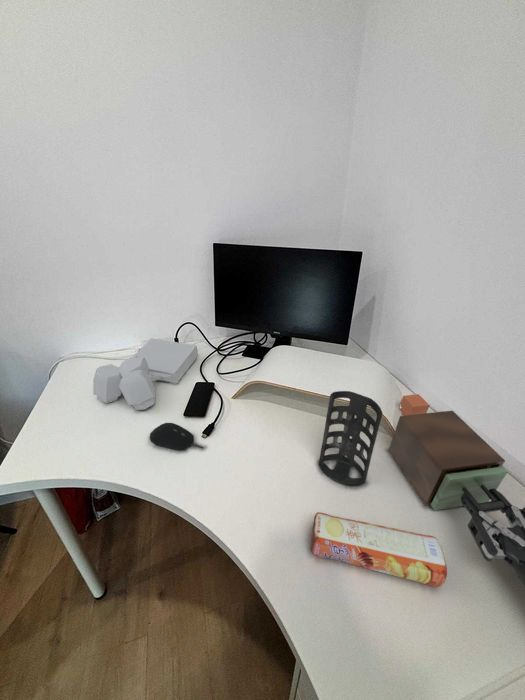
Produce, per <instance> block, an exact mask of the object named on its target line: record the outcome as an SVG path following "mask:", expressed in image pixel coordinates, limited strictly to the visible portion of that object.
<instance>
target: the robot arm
mask: <svg viewBox="0 0 525 700" xmlns="http://www.w3.org/2000/svg"><path fill="white" fill-rule="evenodd" d="M489 491H490V492H491V493H492V494H493V496H494V497H495V498H496V499H497V500H501V501H502V502H503V503H504V504H505V506H506V508H505V510H500V512H501V514H505V517H506V519H507V521H508V523H509V525H510V527H509V526H507V527H506V526H505V525H504V524H503V523H501V522H500V521H498V520H494V519H493V518H492V517H490V516H489V515H488V513H484V512H483V509H482V508H481V507H480V506H479V504H478V503H477V502H476V501H475V500H474V498H473V497H472V496H471V495H470V494H469V493H468V492H467V493H463V495H462V497H461V502H462V504H463V506H462V507H464V508H465V509H466V511H467V512H468V513H469V515H470V516H471V519H470V520H469V521H468V523H467V529H468V531H469V532H470V534H471V535H472V538H473V540H474V542H475V544H476V545H477V547H478V549H479V551H480V553H481V556H482V557H483V559H484V560H485V561H487V562H492V561H493V560H494V559H499V560H500V559H501V560H503V561H504V562H505V563H506V564H507V565H509V566H510V567H512V569H513V570H514V572H515V573H516V576H517V579H518V580H519V582H520V583H521V584H522V586H523V588H525V507H523V508H519V507H517V506H516V505H513V504H512V503H511V502H510V501H509V500H508V499H507V498H506V497H505V496H504V495H503V494H502V493H501V492H500V491H499V490H498V489H494V488H493V489H490V490H489ZM487 496H488V495H487ZM488 497H489V496H488ZM489 499H490V498H489ZM489 501H492V500H491V499H490V500H489ZM497 531H498V533H496V532H497Z"/></svg>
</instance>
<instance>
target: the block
mask: <svg viewBox="0 0 525 700" xmlns="http://www.w3.org/2000/svg"><path fill="white" fill-rule="evenodd" d="M400 404H401V407H402V408H401V411H400V412H401V413H402V414H403V416H406V415H415V414H425V413H428V410H429V407H430V404H429V403H428V402H427V401H426V400H425V399H424V397H422V396H421V395H420V393H417V394H405V395H402V397H401V401H400Z"/></svg>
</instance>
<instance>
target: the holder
mask: <svg viewBox="0 0 525 700" xmlns="http://www.w3.org/2000/svg"><path fill="white" fill-rule="evenodd" d="M336 399H349V403H348V405H334V403H335V400H336ZM368 407H370V408H371V409H372V410H373V411H374V412H375V414H376V419H374V418H373V417H372V416H371V415H370V414H369V413H368V412H367V408H368ZM326 412H327V413H326V417H325V423H324V424H325V425H324V429H323V430H324V431H323V435H322V436H323V437H322V442H321V449H320V454H319V458H318V467H319V469H320V470H321V471H322V473H324V474H325V476H327V477H328V478H329V479H331V480H332V481H334V482H337V483H339V484H342V485H344V486H345V485H346V486H350V487H358V486H363V485H365V484H366V481H367V478H368V473H369V468H370V464H371V460H372V455H373V451H374V448H375V444H376V439H377V437H378V433H379V429H380V425H381V421H382V417H383V415H384V413H383V410H382V408H381V406H380V405H379V404H378V403H377V401H376V400H374V399H372V398H371V397H368V396H365V395H363V394H359V393H357V392H354V391H350V390H338V391H333V392H331V393H330V394H329V400H328V407H327V411H326ZM333 413H337V418H332V416H333ZM344 413H346V418H345V417H344ZM355 416H356V418H355ZM365 420H366V423H365V425H364V424H363V423H364V421H365ZM333 425H343V426H344V427H343V430H333V431H330V427H331V426H333ZM371 427H372V430H373V431H372V433H371V430H370V429H371ZM361 433H363V434H364V435H365V436H366V437H367V439H368V440H369V445H368V444H367V443H366V441H364V440H363V438H361V436H360V435H361ZM339 437H341V441H340V442H338V440H339ZM329 438H332V439H333V440H332V442H331V443H328V439H329ZM358 445H359V446H360V447H359V449H358ZM330 449H338V453H330V454H325V453H326V451H327V450H330ZM364 452H365V453H366V457H365V455H364ZM355 456H356V457H357V458H359V460H360V461H361V462H362V464H363V466H364V467H363V468H362V466H361V465H360V464H359V463H358V462H357V461H356V460H355ZM328 461H337V462H336V464H335V466H334V468H333V469H331V468H330V467H329V466H327V464H326V463H325V462H328ZM351 467H353V468H354V469H355V470H356V471H357V472H358V473H359V475H360V477H351V476H350V472H351Z"/></svg>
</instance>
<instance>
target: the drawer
mask: <svg viewBox="0 0 525 700" xmlns="http://www.w3.org/2000/svg"><path fill="white" fill-rule="evenodd" d="M491 466H492V465H488V466H480V467H473V468H466V469H459V470H451V471H445V472H444V474H443V476H442V479H441V481H440V483H439V485H438V487H437V489H436V491H435V493H434V495H433V497H434V499H433V501H432V503H431V505H430V507H431V508H432V510H433V511H435V512H436V511H442V510H447V509H454V508H460V507H464V506H463V504H462V502H461V497H462V495H463V493H467V492H468V493H469V494H470V495H471V496H472V497H473V498H474V500H475V501H476V502H477V503H478V504H479V506H480V507H481V508H482V509H483V512H484V513H486V514H488V513H493V512H499V511H500V510H505V508H506V506H505V504H504V503H503V502H502V501H501V500H497V499H496V498H495V497H494V496H493V494H492V493H491V492H490V491H489V490H490V489H493V488H494V489H496V490H498V488H499V486H500V485H501V483H502V482H503V480H504V478H505V477H506V476H507V474H508V473H509V470H508V469H507V468H505V466H504V465H502V467H495V468H490V467H491ZM487 495H488V496H489V497H488V496H487ZM489 498H490V499H491V500H492V501H491V500H490V499H489ZM500 512H501V511H500Z"/></svg>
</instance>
